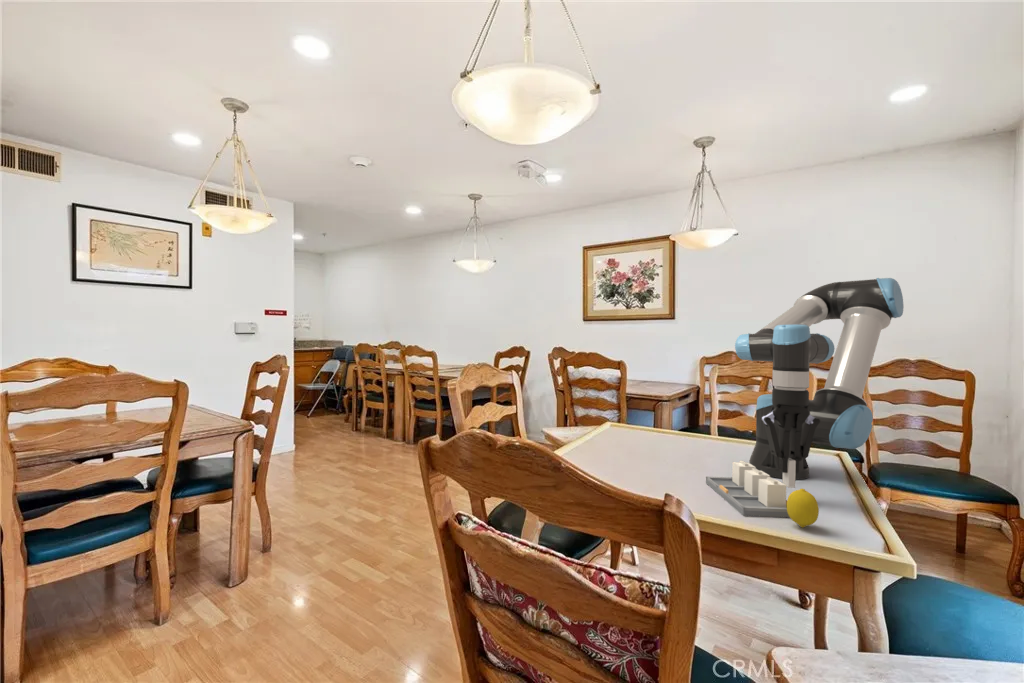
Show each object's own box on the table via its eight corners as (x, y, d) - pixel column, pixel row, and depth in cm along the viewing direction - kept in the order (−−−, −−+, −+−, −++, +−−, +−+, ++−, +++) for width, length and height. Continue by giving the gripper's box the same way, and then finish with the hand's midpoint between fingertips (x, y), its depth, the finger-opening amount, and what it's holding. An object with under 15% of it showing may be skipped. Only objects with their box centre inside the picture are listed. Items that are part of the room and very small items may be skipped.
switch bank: (748, 484, 117) (748, 475, 117) (795, 517, 95) (795, 506, 95) (705, 483, 118) (706, 473, 118) (743, 515, 96) (743, 504, 96)
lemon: (808, 535, 86) (809, 495, 86) (780, 524, 91) (781, 486, 91) (824, 530, 89) (824, 490, 89) (796, 520, 94) (796, 482, 94)
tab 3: (776, 501, 101) (776, 476, 101) (785, 507, 97) (786, 482, 97) (758, 500, 101) (758, 476, 101) (767, 507, 97) (767, 481, 97)
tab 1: (748, 481, 115) (748, 460, 115) (755, 486, 111) (755, 464, 111) (732, 481, 115) (732, 459, 115) (739, 486, 111) (739, 464, 111)
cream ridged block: (761, 490, 108) (761, 468, 108) (769, 496, 104) (769, 473, 104) (744, 490, 108) (744, 467, 108) (752, 495, 104) (752, 472, 104)
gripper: (808, 387, 109) (807, 481, 109) (754, 386, 110) (753, 480, 110) (828, 390, 101) (827, 492, 102) (770, 389, 102) (768, 490, 102)
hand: (788, 485), depth 106 cm, fingers closed
